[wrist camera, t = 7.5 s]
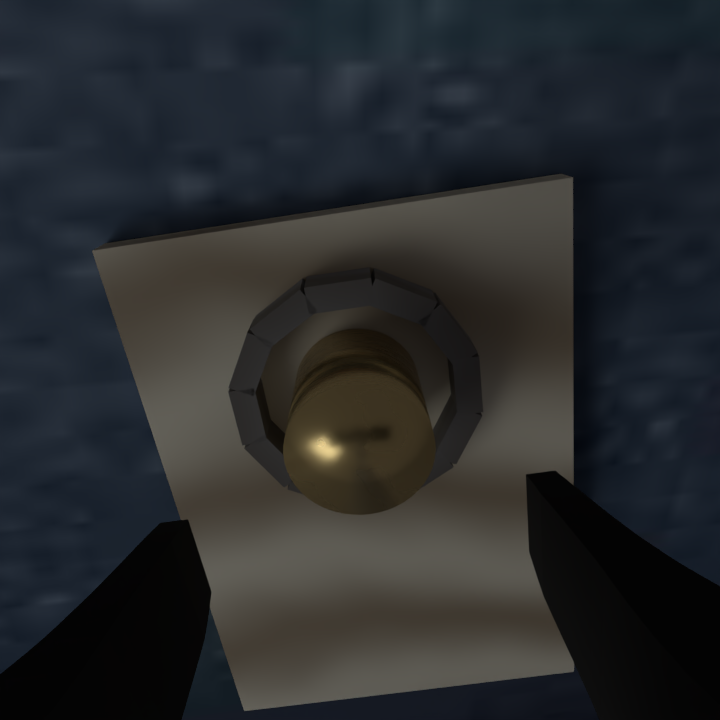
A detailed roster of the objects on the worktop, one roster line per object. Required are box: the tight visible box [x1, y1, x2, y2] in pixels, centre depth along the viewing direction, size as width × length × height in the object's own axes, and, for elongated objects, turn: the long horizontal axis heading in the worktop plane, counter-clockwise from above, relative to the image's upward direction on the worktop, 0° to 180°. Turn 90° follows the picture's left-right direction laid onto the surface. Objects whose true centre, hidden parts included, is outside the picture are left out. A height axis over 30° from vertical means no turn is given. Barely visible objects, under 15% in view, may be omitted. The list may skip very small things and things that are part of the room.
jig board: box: [92, 174, 574, 711], centre depth 21 cm, size 20×14×2 cm
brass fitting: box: [283, 328, 436, 515], centre depth 17 cm, size 4×4×4 cm
